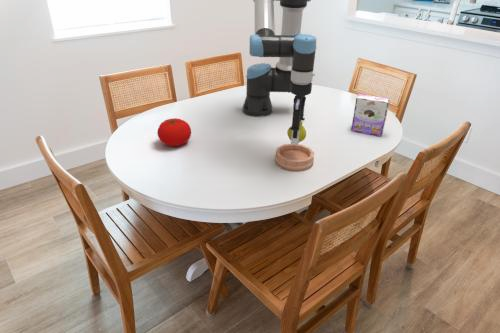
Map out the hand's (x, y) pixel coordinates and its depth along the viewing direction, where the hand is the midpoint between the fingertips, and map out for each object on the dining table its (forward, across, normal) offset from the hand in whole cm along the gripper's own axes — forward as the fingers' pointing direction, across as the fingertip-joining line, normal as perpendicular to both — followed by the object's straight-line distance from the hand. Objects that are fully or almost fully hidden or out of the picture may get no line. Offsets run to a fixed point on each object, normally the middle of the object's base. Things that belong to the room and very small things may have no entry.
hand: (296, 140), depth 142 cm
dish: (+9, 0, 0) cm, 9 cm away
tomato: (+9, +1, +51) cm, 52 cm away
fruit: (+1, 0, 0) cm, 1 cm away
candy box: (+9, +37, -28) cm, 47 cm away
